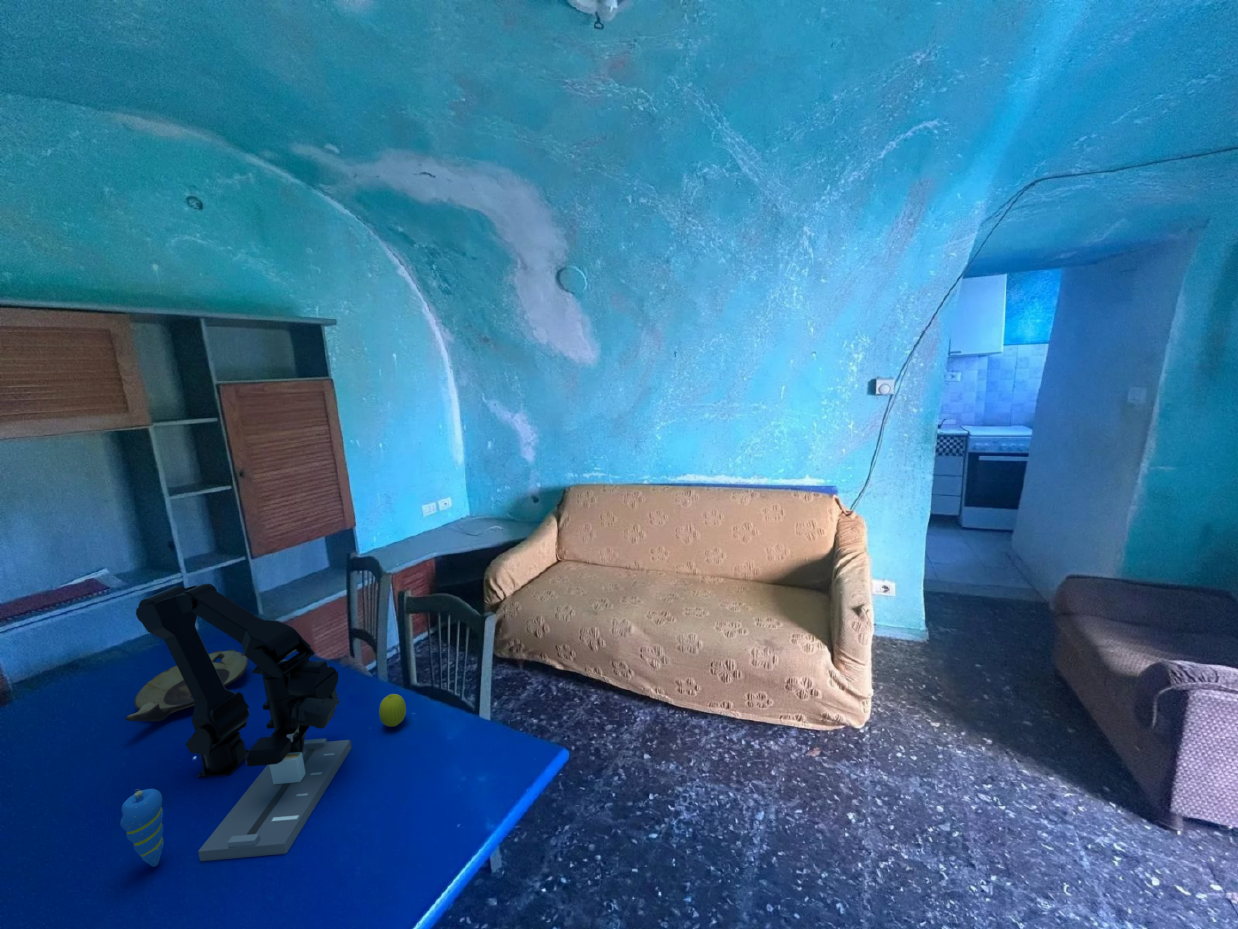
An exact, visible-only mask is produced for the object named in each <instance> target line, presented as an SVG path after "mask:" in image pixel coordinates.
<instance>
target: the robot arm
mask: <svg viewBox="0 0 1238 929" xmlns="http://www.w3.org/2000/svg"><path fill="white" fill-rule="evenodd" d="M135 615H136V618H137V619H138V621H139V622H140V623H141V624H142V625H143V627H144V628H145V630H146V631H147V633H149V634H152V635H154V636H156V637H159V638H160V639H162V640H163V641H164V642H165V645H166V646H167V649H168V651H169V653H170V654H171V656H172V658H173V661H174V663H175V664H176V665H177V667H178V669H179V671H180V673H181V675H182V677H183V679H184V681H185V683H186V685H187V687H188V689H189V691H190V693H191V695H192V697H191V698H193V699H194V701H195V705H194V709H193V713H192V718H191V722H192V725H193V728H194V732H193V734H192V735H191V736H190V738H189V739H188V740H187V741H186V743H185V746H186V747H187V750H188V751H189V752H190V753H191V754H197V755H199V756H200V760H201V763H202V767H203V769H202V770H201V771H200V772H199V773H198V774H197V777H198V778H211V777H213V778H214V777H221V776H223V777H224V776H230V775H231V774H233V773H234V771H235V770H236V769H237V768H238V767H239V766H240V765H241V763H243V761H244V760H245V763H246V766H247V767H249V768H250V767H259V766H267V765H272V764H278V763H280V762H282V760H283V759H284V758H285V757H286V755H287V754H288V753H294V752H302V753H303V747H304V741H305V740H306V735H307V731H308V730H309V729H310V727H312V728H313V727H314V728H316V729H320V730H322V729H325V728H326V727H327V726H328V725H329V722H330V721H331V720H332V718H333V717H334V716H335V712H336V708H337V706H338V704H339V703H340V700H339V697H338V693H337V689H336V687H337V686H338V681H339V672H338V670H337V669H336V667H333V666H331V665H330V666H329V665H328V662H327V661H326V660H318V661H317V660H316V661H315V660H310V658H312V657H313V656H315V654H316V653H315V651H314V650H313V649H312V648H311V644H309V643H308V642H307V641H306V640H305V639H304V638H303V637H302V636H301V634H299V632H298V630H296V628H294V627H292V626H290V625H288V624H285V623H283V622H281V621H280V620H269V619H263V618H261V617H258V616H257V615H255V614H254V613H253V612H251V611H249V610H248V609H246V608H244V607H242V606H241V605H239V604H238V603H236V602H235V601H233V600H231V599H230V598H228V597H227V596H225V595H224V594H222V593H220V592H219V591H218V590H217V588H216V587H215V586H214V585H213V584H211V583H202V584H196V585H191V586H188V587H184V586H181V585H174V586H173V587H169V588H168V589H166V590H163V591H160V592H158V593H155V594H152V595H150V596H148V597H145V598H144V599H142V600H140V601H139V603H138V605H137V608H136V610H135ZM198 617H199V618H201V619H202V620H204V621H206V622H207V623H209V624H210V625H212V626H214V627H215V628H216V629H218V630H219V631H221V632H222V633H224V634H226V635H227V636H228V637H231V638H232V639H234V641H237V643H239V644H241V648H242V651H243V652H242V653H243V654H244V655H245V656H246V657H247V658H248V660H250V661H251V662H252V663H253V664H254V665H255V666H256V667H255V668H253V669H252V670H251V672H252V674H254V675H255V674H256V675H261V676H262V681H263V685H264V689H265V696H266V701H265V702H264V703H263V704H262V709H263V711H267V710H268V712H269V716H270V720H269V721H268V722H267V723H266V729H267V730H270V729H274V730H273V732H272V733H271V735H269V736H264V737H263V736H262V737H260V738H259V739H258V740H257V741H256V742H254V744H253V745H252V747H250V749H246V747H245V742H244V741H245V740H244V739H242V736H241V732H240V731H241V730H242V729H244V728H246V727H247V726H248V725H247V724H248V718H249V716H250V711H249V709H250V706H249V705H248V703H247V702H246V700H245V697H244V694H243V693H242V692H240V691H237V692H234V691H232V690H229V689H227V688H226V686H224V685H223V683H222V681H221V679H220V677H219V675H218V673H217V671H216V669H215V666H214V664H213V662H212V660H211V658H210V656H209V654H210V653H208V650H207V648H206V646H205V643H204V641H203V640H202V637H201V635H200V634H199V632H198V629H197V627H196V624H197V619H198ZM296 651H297V652H298V653H297V654H295V655H293V656H292V657H291V658H289V659H286V658H287V657H288V656H291V655H292V654H293V653H295V652H296ZM176 665H175V666H176Z"/></svg>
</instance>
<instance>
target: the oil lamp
mask: <svg viewBox="0 0 1238 929" xmlns="http://www.w3.org/2000/svg"><path fill="white" fill-rule="evenodd" d="M208 654H209V656H210V658H211V660H212V662H213V664H214V666H215V669H216V671H217V673H218V675H219V677H220V679H221V681H222V683H223V685H224V687H227V686H229V685H230V684H231V683H234V682H236V681H237V680H238V679H239V678H241V677H242V676H243V675H244V673H245V672H246V671H247V669H248V665H249V658H247V657H246V656H245V655H244V652H241V651H238V650H235V649H233V648H232V649H229V650H224V651H223V650H217V651H213V652H211V653H208ZM218 659H220V661H218V662H216V661H217V660H218ZM133 703H134V707H135V709H137V712H135V713H131V714H128V715H126V718H125V719H124V720H125V721H127V722H160V721H163V720H165V719H167V718H168V716H170V715H171V714H173V713H175V712H179V711H183V710H184V709H189V708H191V707H195V701H194V699H193V697H192V695H191V693H190V691H189V689H188V687H187V685H186V683H185V681H184V679H183V677H182V675H181V673H180V671H179V669H178V667H177V665H174V666H171V667H169V668H168V669H165V670H164V671H162V672H161V673H159V674H157V675H155V676H154V677H153V678H152V679H151V680H148V681H147V682H146V683H145V684H144V686H142V688H140V690H139V691H138V692H137V694H136V696H135V697H134V702H133Z"/></svg>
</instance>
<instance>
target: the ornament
mask: <svg viewBox="0 0 1238 929" xmlns="http://www.w3.org/2000/svg"><path fill="white" fill-rule="evenodd" d="M134 792H135V793H134V794H132V795H131V796H129V797H128V798H127V799H126V800H125V801H124V802H123V804H122V806H121V814H122V817H121V819H120V827H121V828H122V829H123V830H124V831H126V833H125V835H126V836H125V837H126V839H127V840H128V841H129V842H131V843H132V844H133V849H134V851H135V852H136V853H137V854H138V855H139V856H140V858H141V860H142V861H143V862H144V863H146V864H148V865H149V866H151V867H152V868H155V867H157V866H158V865H159V863H160V858H161V855H162V852H163V848H164V844H165V841H164V840H165V839H164V836H163V832H164V824H163V822H162V821H163V819H164V818H163V817H164V809H163V807H162V805H163V795H162V793H161V791H160V790H157V789H156V788H146V789H143V790H138V791H137V789H135V790H134Z"/></svg>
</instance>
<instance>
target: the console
mask: <svg viewBox="0 0 1238 929" xmlns="http://www.w3.org/2000/svg"><path fill="white" fill-rule="evenodd" d="M351 750H352V741H351V739H344V740H342V739H341V740H333V741H331V740H329V741H328V740H327V738H326V737H325V738H313V739H305V741H304V747H303V753H302V757H303V762H304V767H305V772H306V774H305V776H304V777H303V779H302V780H301V782H296V783H284V784H273V780H272V775H271V770H270V765H265V767H264V769H263V770H262V771H261V772H260V773H259V774H258V776H257V777H256V778H255V780H254V781H253V782H252V783H251V785H250V786H249V787H248V789H247V790H246V791H245V792H244V794H243V795H242V796H241V797H240V798H239V800H238V801H237V802H236V804H234V806H233V807H232V808H231V810H230V811H229V812H228V814H227V815H226V816H225V817H224V818H223V820H222V821H220V823H219V825H218V826H217V827H216V829H215V830H214V831H213V832H212V834H211V835H210V836H209V837H208V839H207V840H206V841H205V842H204V843H203V844H202V846H201V847H200V848H199V850H198V851H197V853H198V857H199V861H200V862H208V861H219V860H221V861H222V860H228V859H229V860H230V859H240V858H241V859H242V858H252V857H264V856H274V855H285V854H287V853H288V852H289V851H290V848H291V846H292V845H293V844H294V842H295V840H296V839H297V837H298V835H299V833H301V831H302V829H303V828H304V827H305V824H306V822H307V821H308V820H309V817H310V816H311V814H312V813H313V812H314V809H315V808H316V806H317V805H318V804H319V801H321V799H322V796H323V795H324V793H325V792H326V790H327V788H328V786H330V784H331V782H332V781H333V779H334V777H335V775H336V774H337V772H338V770H339V769H340V768H341V766H342V764H343V763H344V761H345V760H346V758H347V756H348V754H350V751H351Z"/></svg>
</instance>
